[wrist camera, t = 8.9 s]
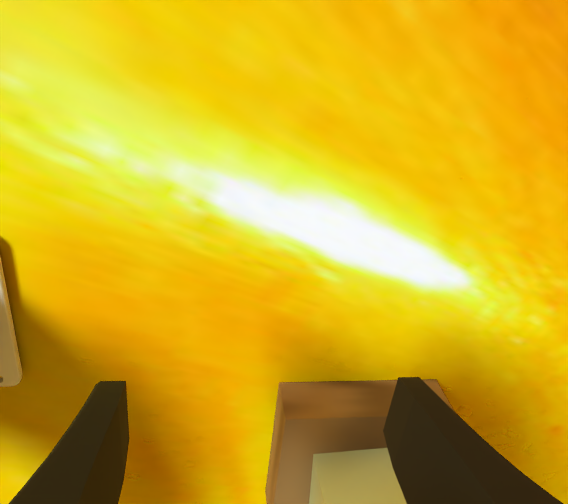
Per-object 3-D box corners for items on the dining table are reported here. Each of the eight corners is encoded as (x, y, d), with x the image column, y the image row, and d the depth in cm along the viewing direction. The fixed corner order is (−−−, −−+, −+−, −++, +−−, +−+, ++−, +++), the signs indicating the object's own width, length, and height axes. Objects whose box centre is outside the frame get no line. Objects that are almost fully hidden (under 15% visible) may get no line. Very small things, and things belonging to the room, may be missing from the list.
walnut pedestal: (264, 484, 30) (269, 531, 28) (278, 376, 26) (285, 419, 24) (399, 477, 32) (416, 520, 29) (432, 373, 28) (455, 414, 25)
